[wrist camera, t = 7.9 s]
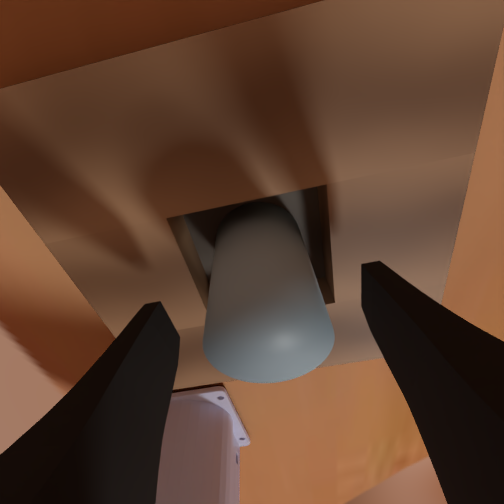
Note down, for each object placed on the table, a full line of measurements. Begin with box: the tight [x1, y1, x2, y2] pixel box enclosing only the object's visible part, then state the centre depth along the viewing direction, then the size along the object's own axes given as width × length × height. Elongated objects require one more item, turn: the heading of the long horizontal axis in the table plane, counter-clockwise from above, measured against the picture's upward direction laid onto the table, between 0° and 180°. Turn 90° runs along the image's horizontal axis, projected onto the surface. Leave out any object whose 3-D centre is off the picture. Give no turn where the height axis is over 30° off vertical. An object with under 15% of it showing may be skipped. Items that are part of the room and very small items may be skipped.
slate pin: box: [203, 202, 335, 383], centre depth 11 cm, size 4×4×6 cm
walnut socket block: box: [0, 0, 504, 390], centre depth 13 cm, size 16×16×2 cm
